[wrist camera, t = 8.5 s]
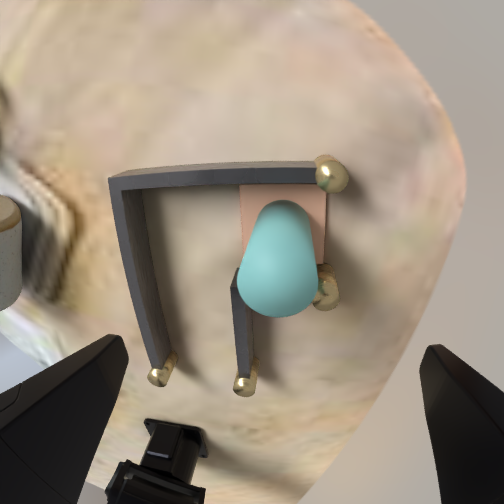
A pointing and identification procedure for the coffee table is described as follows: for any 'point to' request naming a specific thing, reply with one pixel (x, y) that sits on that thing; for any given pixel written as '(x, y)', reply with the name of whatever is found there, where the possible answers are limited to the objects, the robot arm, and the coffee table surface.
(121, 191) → the metal rail track
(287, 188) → the pad
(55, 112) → the coffee table surface
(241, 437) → the coffee table surface
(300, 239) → the peg
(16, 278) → the ceramic mug
